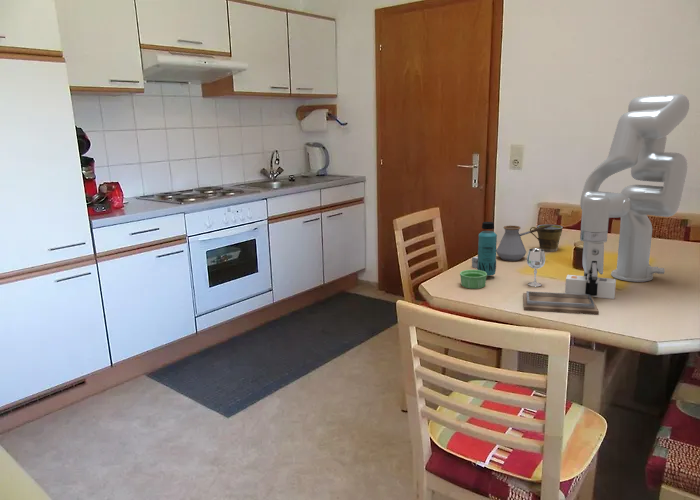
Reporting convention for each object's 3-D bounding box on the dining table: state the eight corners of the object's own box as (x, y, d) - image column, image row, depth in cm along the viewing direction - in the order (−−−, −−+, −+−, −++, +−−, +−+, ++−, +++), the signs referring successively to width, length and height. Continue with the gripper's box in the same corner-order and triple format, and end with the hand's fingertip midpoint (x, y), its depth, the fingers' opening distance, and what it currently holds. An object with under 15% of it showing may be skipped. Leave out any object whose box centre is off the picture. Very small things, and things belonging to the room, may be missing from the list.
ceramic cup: (563, 248, 220) (564, 225, 218) (558, 253, 212) (559, 229, 210) (532, 245, 227) (532, 223, 225) (526, 250, 219) (527, 227, 216)
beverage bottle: (474, 275, 188) (475, 220, 183) (492, 274, 188) (493, 219, 184) (480, 280, 182) (481, 224, 177) (498, 279, 182) (500, 223, 177)
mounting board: (591, 299, 159) (592, 292, 158) (598, 314, 147) (599, 307, 146) (523, 295, 164) (523, 289, 164) (524, 310, 152) (524, 302, 152)
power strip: (614, 294, 163) (615, 278, 161) (614, 299, 158) (615, 283, 157) (566, 289, 169) (567, 274, 168) (564, 293, 165) (565, 278, 163)
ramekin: (454, 284, 179) (454, 271, 178) (475, 280, 183) (476, 268, 182) (470, 291, 171) (470, 278, 170) (492, 286, 175) (492, 274, 174)
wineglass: (535, 288, 171) (536, 253, 168) (522, 283, 176) (523, 249, 173) (547, 285, 174) (549, 250, 171) (534, 280, 179) (536, 247, 176)
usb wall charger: (471, 267, 199) (471, 257, 198) (485, 264, 202) (485, 254, 201) (479, 269, 195) (479, 259, 194) (492, 266, 198) (493, 256, 198)
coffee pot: (492, 260, 207) (493, 223, 203) (501, 253, 216) (502, 218, 212) (547, 266, 195) (549, 227, 191) (555, 259, 204) (557, 221, 201)
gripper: (612, 242, 150) (607, 301, 154) (602, 230, 166) (598, 284, 170) (584, 241, 152) (580, 300, 157) (577, 230, 168) (573, 283, 173)
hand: (589, 291), depth 163 cm, fingers closed on power strip, 5 cm apart
